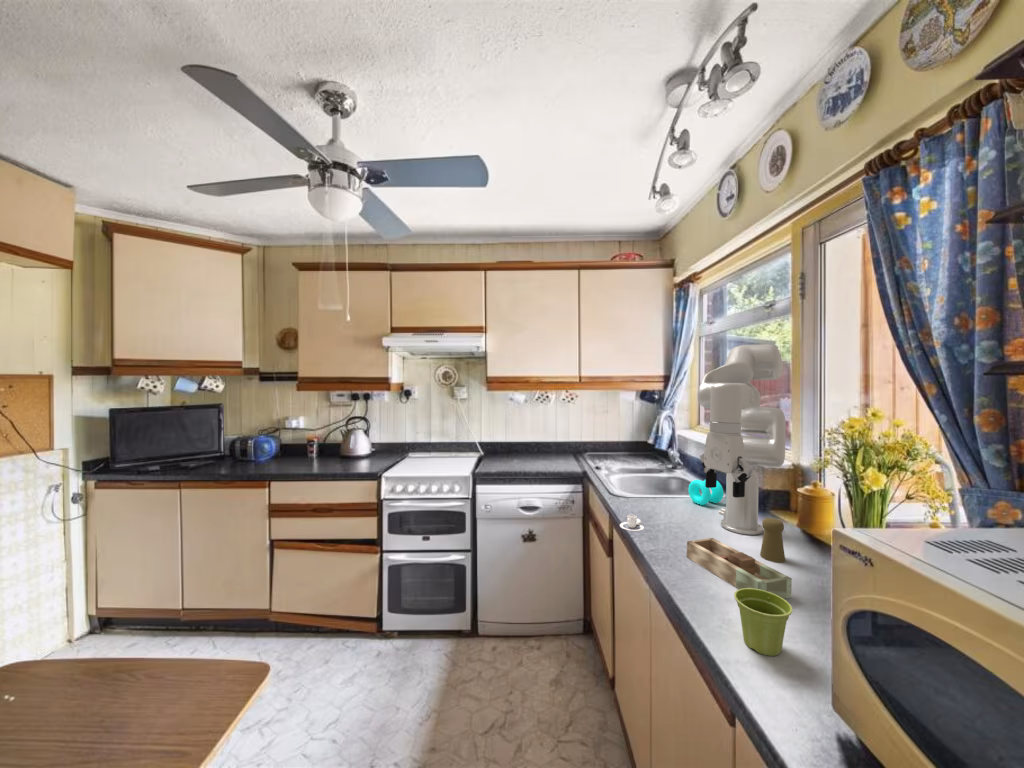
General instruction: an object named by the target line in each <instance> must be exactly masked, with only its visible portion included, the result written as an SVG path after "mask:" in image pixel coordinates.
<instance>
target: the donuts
mask: <svg viewBox="0 0 1024 768" xmlns="http://www.w3.org/2000/svg"><path fill="white" fill-rule="evenodd" d="M705 480H706V478H705V479H704V480H701V479H694V480H692V481H691V482H690V483H689V484H688V488H687V489H688V490H687V491H688V495H689V497H690V499H691V501H692V502H693V503H695V504H696V503H697V504H696V505H698V504H700V505H699V506H705V505H707V504H708V503H711V502H713V503H712V504H718V503H720V502H721V501H722V500H723V498H724V494H725V493H724V488H723V486H722V484H721V483H720V481H718V480H717V482H716V487H714V488H707V487H705ZM710 489H711V490H710ZM700 491H701V492H700ZM709 501H710V502H709Z"/></svg>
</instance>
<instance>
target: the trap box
mask: <svg viewBox="0 0 1024 768" xmlns="http://www.w3.org/2000/svg"><path fill="white" fill-rule="evenodd" d="M738 552H740V551H739V550H737V549H735V548H733V547H732V546H729V545H727V544H725V543H723V542H721V541H720V540H719V539H718V540H717V539H716V538H714V537H707V538H703V539H701V538H700V539H694V540H687V541H686V557H687V558H688V559H690V560H691V561H693V562H694V563H695V564H697V565H699V566H701V567H702V568H703V569H705V570H706V571H709V572H711V573H712V574H713V575H715V576H717V577H719V578H720V579H721V580H723V581H725V582H727V583H728V584H729V585H732V586H733V587H734V588H736V589H737V590H739V589H743V588H753V589H760V590H764V591H767V592H770V593H773V594H775V595H778V596H780V597H781V598H783V599H784V600H786V599H790V598H792V583H793V582H792V581H793V580H792V577H790V576H788V575H786V574H784V573H782V572H780V571H778V570H776V569H775V568H773V567H770V566H768V565H766V564H765V563H762V562H761V561H759V560H756V559H755V575H752V574H750V573H748V572H746V571H745V570H743V569H741V568H739V567H737V566H736V565H734V564H732V563H730V562H729V554H732V553H738Z"/></svg>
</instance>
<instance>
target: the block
mask: <svg viewBox="0 0 1024 768" xmlns="http://www.w3.org/2000/svg"><path fill="white" fill-rule="evenodd" d="M755 560H756V558H754V557H752V556H751V555H748V554H747V553H744V552H742V551H739V552H738V553H732V554H729V562H730V563H732V564H734V565H736V566H737V567H739V568H741V569H743V570H745V571H746V572H748V573H750V574H752V575H755Z"/></svg>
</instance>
